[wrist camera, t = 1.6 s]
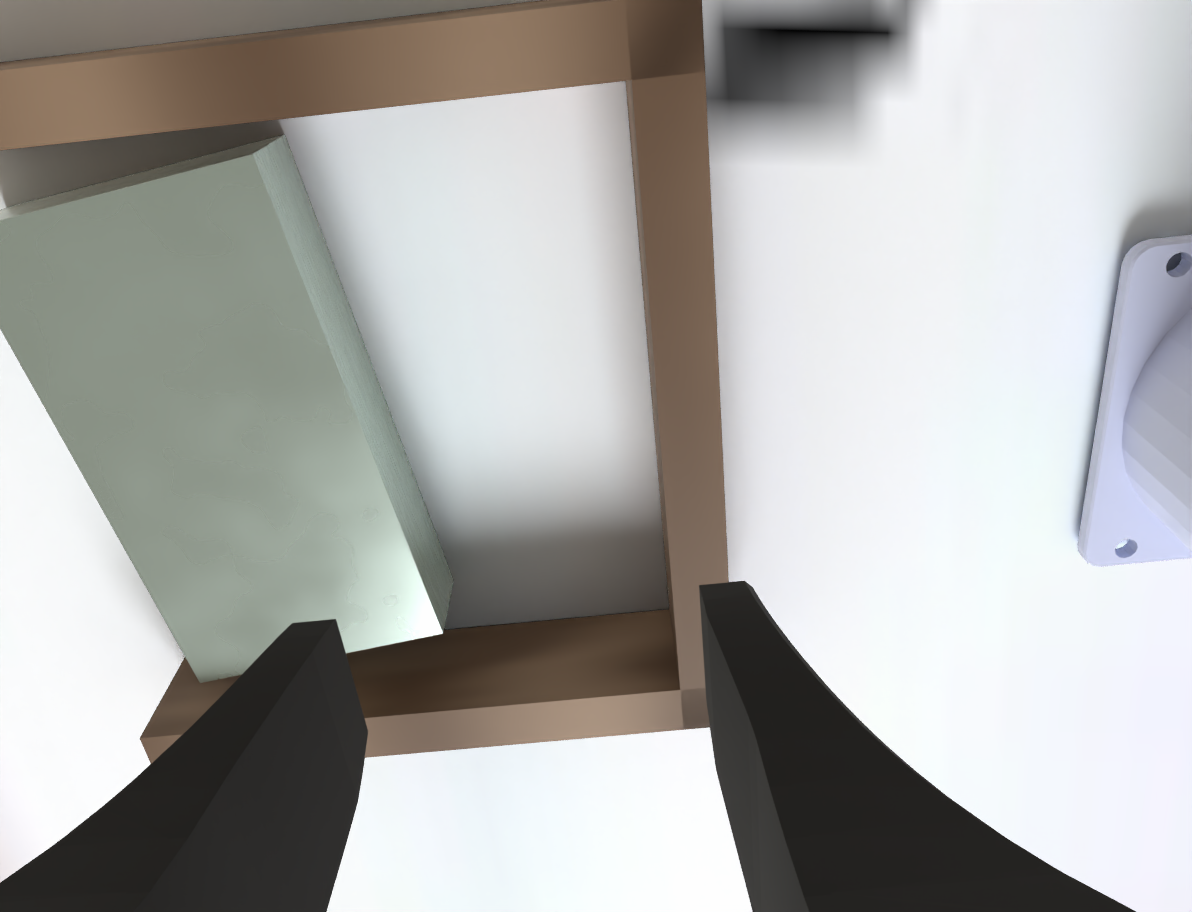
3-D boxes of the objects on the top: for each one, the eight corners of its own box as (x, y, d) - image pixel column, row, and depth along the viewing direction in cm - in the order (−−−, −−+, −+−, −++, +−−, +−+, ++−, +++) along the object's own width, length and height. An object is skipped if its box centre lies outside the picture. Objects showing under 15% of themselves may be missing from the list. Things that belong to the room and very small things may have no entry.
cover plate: (290, 131, 19) (252, 154, 17) (456, 571, 24) (442, 633, 22) (17, 202, 20) (-54, 234, 18) (234, 618, 25) (200, 682, 23)
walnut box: (682, -17, 18) (701, -10, 15) (718, 642, 25) (735, 724, 22) (-39, 67, 18) (-144, 87, 16) (200, 689, 25) (156, 776, 23)
